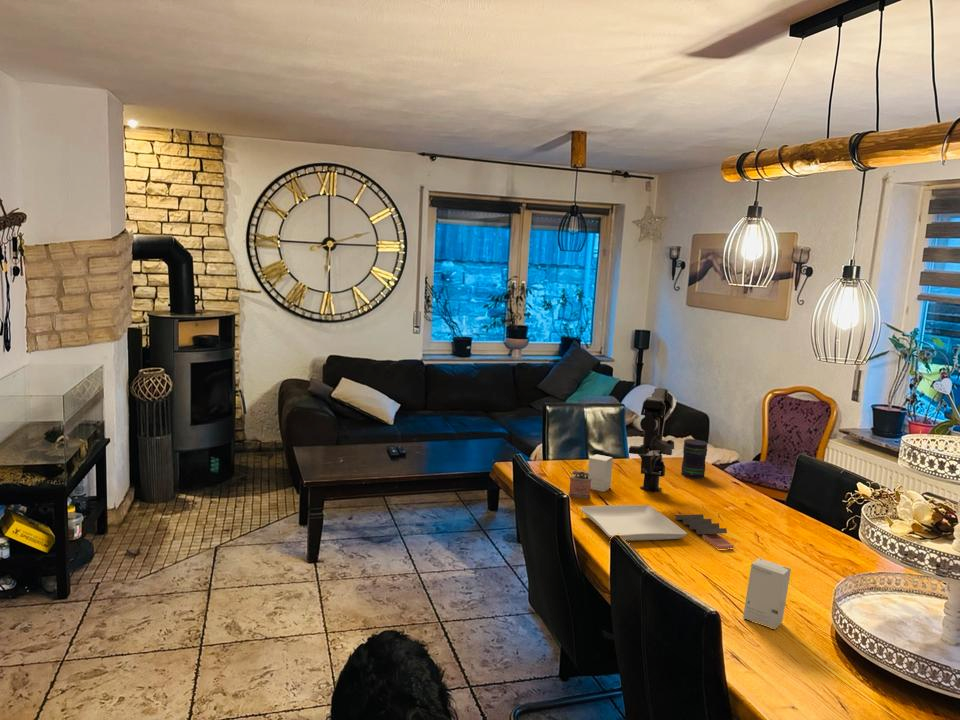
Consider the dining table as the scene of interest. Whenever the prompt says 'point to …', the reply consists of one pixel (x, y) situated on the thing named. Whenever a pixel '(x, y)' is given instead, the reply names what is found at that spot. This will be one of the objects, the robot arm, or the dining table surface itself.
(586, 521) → the dining table surface
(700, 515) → the domino
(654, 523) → the square plate
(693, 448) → the storage jar
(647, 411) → the robot arm
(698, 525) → the domino
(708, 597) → the dining table surface
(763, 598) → the skincare box
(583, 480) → the lighter
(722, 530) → the domino
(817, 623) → the dining table surface
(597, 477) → the supplement box
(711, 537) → the domino
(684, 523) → the domino
